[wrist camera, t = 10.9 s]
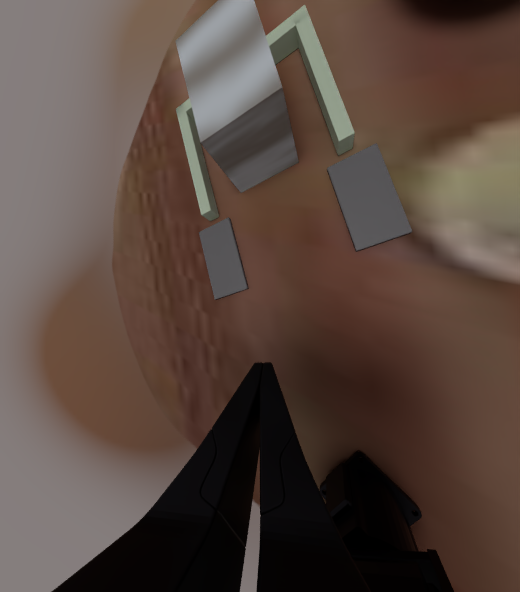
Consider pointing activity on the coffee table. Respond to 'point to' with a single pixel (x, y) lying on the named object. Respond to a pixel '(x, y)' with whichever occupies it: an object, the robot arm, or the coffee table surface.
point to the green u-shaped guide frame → (344, 175)
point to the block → (237, 93)
